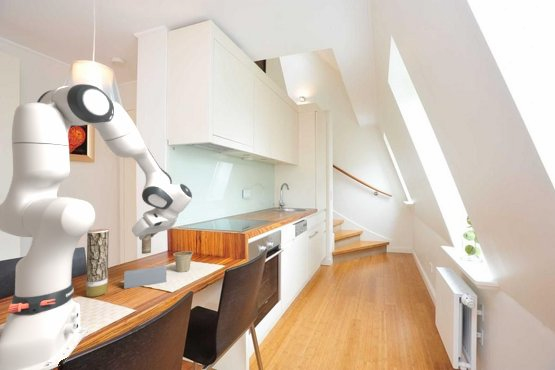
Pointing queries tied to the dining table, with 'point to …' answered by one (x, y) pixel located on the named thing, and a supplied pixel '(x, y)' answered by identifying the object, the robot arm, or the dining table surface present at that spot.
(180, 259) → the flower pot
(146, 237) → the dowel
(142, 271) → the grey rectangular block
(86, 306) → the dining table surface
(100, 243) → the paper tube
